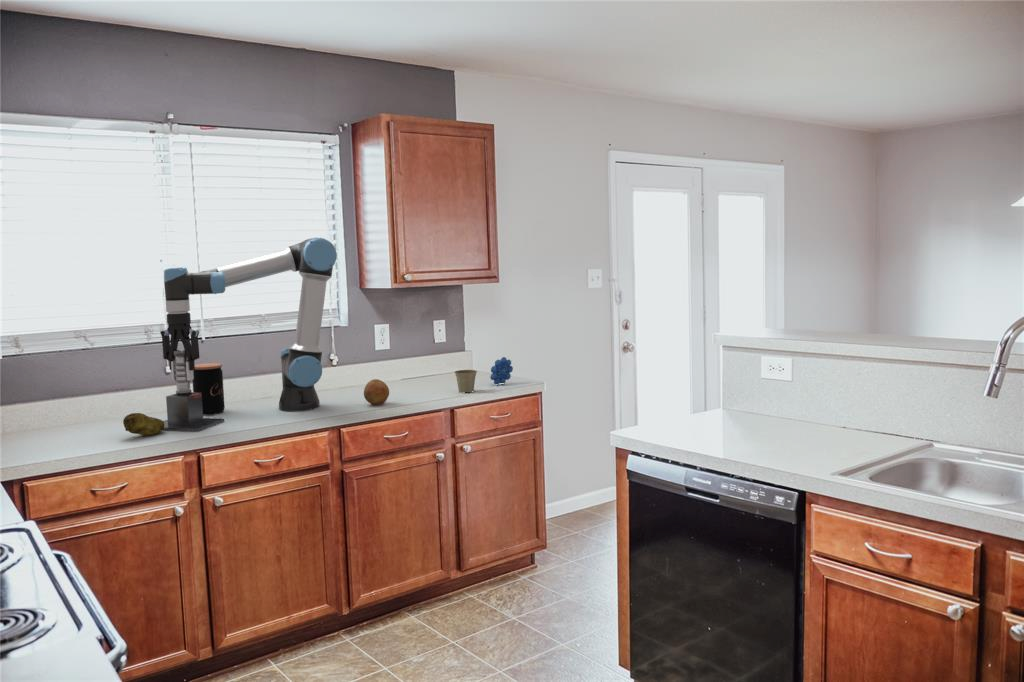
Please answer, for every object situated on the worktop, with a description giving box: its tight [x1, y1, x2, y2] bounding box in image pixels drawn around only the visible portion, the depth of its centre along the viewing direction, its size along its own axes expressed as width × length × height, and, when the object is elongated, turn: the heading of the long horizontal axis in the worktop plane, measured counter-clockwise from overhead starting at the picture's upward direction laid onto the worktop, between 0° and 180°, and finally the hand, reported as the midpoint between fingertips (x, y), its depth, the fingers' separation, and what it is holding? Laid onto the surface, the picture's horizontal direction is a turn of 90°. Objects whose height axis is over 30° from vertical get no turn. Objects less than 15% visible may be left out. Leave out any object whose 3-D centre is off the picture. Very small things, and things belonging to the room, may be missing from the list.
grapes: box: [490, 356, 514, 385], centre depth 353 cm, size 12×7×12 cm, turn 125°
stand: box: [162, 391, 226, 433], centre depth 281 cm, size 20×16×11 cm
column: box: [173, 348, 193, 396], centre depth 280 cm, size 5×5×22 cm
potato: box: [122, 412, 164, 437], centre depth 267 cm, size 8×13×8 cm, turn 125°
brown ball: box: [363, 378, 390, 406], centre depth 312 cm, size 10×10×10 cm
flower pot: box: [453, 369, 478, 393], centre depth 336 cm, size 9×9×9 cm
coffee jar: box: [191, 362, 225, 416], centre depth 303 cm, size 11×11×18 cm
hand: (183, 379), depth 280 cm, fingers closed on column, 5 cm apart
